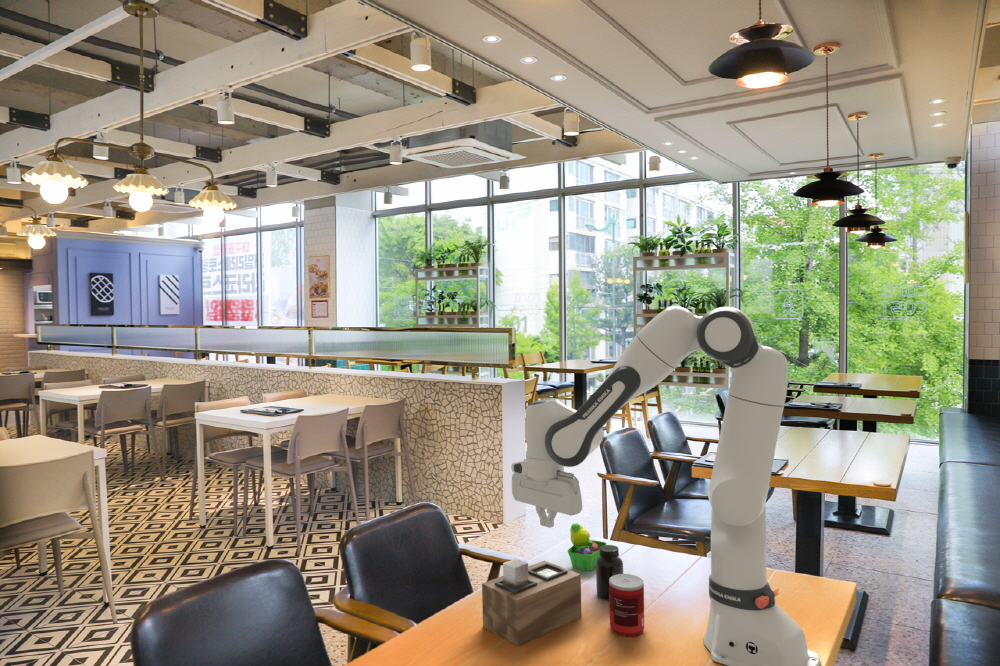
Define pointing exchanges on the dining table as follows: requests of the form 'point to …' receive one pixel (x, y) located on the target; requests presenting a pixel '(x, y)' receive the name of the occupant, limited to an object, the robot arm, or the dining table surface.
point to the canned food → (626, 604)
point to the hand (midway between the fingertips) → (547, 526)
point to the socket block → (532, 604)
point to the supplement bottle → (607, 568)
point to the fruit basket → (583, 548)
